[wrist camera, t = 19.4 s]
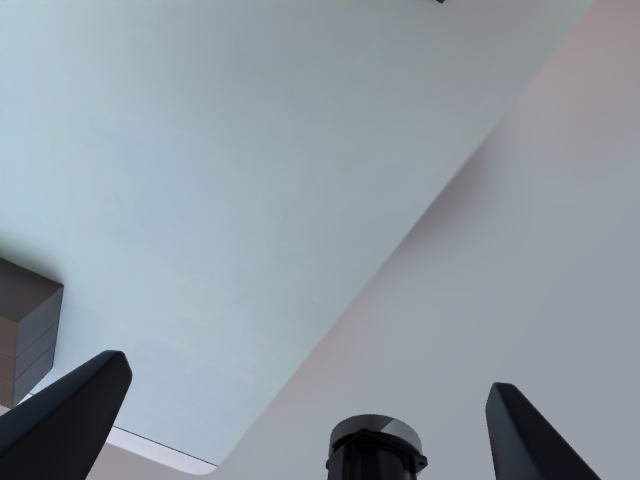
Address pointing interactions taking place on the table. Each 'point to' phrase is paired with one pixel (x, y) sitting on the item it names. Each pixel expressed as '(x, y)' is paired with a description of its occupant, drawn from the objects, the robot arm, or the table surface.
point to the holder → (25, 330)
